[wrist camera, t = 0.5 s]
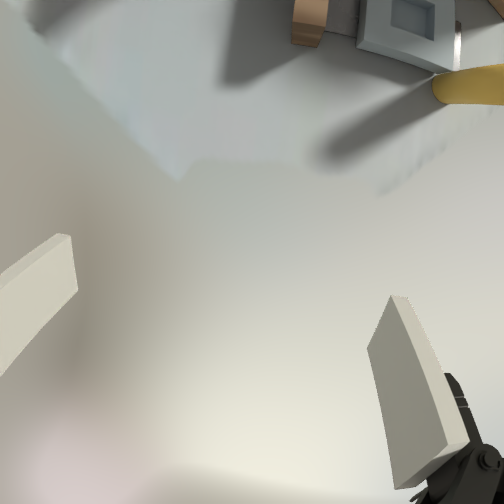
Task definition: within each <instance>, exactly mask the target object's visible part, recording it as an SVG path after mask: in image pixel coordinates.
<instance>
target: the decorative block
mask: <svg viewBox="0 0 504 504" xmlns="http://www.w3.org/2000/svg"><path fill="white" fill-rule="evenodd" d="M488 1H489V2H490V3H491V5H492V6H493V7H494V8H495V9H496V10H497V12H498V13H499V14H500V15H501V17H502V18H503V19H504V0H488Z"/></svg>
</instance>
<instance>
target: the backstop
mask: <svg viewBox="0 0 504 504" xmlns="http://www.w3.org/2000/svg"><path fill="white" fill-rule="evenodd" d="M328 2H329V0H295V5H294V12H293V20H292V41H291V44H298V45H304V46H310V47H316V48H317V46H318V44H319V42H320V39H321V37H322V34H323V32H324V30H325V27H326V19H327V11H328Z"/></svg>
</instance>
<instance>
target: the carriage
mask: <svg viewBox="0 0 504 504" xmlns="http://www.w3.org/2000/svg"><path fill="white" fill-rule="evenodd" d="M454 44H455V0H361V1H360V12H359V23H358V33H357V42H356V48H359V49H363V50H366V51H370V52H374V53H377V54H381V55H384V56H387V57H391V58H394V59H397V60H400V61H403V62H406V63H409V64H412V65H415V66H417V67H420V68H423V69H425V70H428V71H431V72H433V73H436V74H441V73H446V72H451V71H453V61H454Z"/></svg>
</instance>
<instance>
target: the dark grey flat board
mask: <svg viewBox="0 0 504 504" xmlns="http://www.w3.org/2000/svg"><path fill="white" fill-rule="evenodd" d="M360 1H361V0H329V2H328V11H327V19H326V27H325V30H324V31H328V32H333V33H338V34H342V35H347V36H351V37H355V38H357V33H358V23H359V12H360ZM460 44H461V23H460V22H458V21H455V44H454V61H453V71H459V63H460Z"/></svg>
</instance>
